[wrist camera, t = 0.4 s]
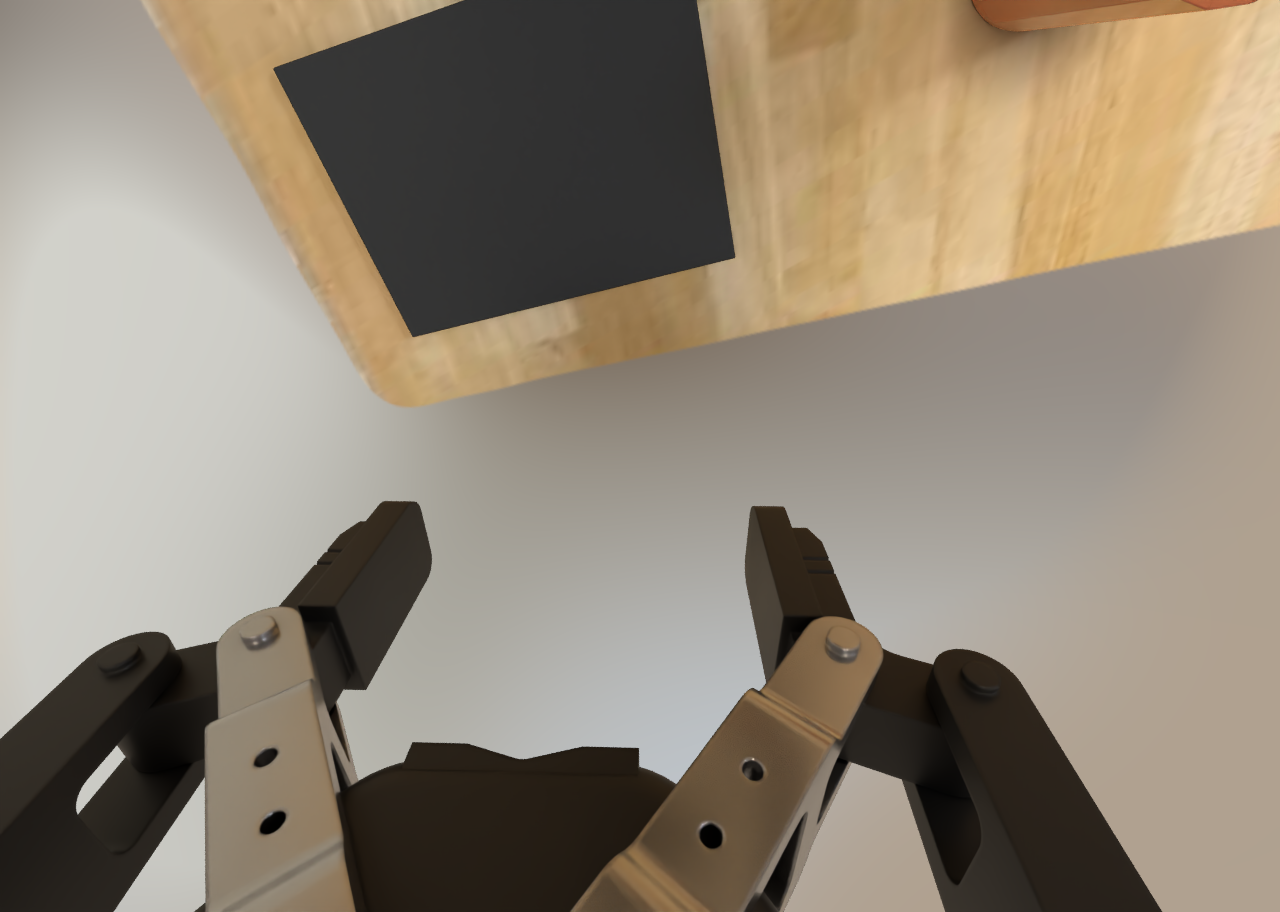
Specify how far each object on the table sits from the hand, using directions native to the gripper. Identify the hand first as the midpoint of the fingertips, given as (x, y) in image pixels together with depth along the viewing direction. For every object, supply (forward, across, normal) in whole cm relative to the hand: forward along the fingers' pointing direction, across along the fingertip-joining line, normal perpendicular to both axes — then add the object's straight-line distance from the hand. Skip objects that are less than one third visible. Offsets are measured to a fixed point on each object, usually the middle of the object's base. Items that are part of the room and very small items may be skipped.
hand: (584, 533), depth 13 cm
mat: (+21, +5, -8) cm, 23 cm away
